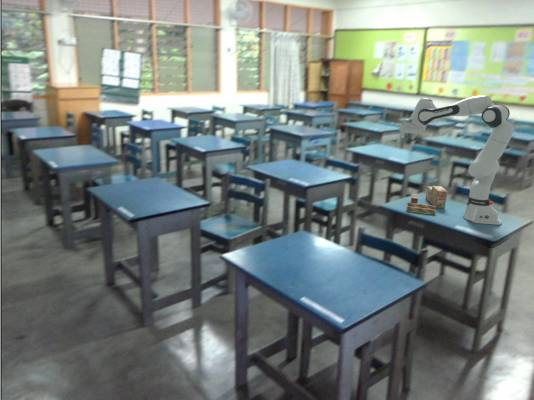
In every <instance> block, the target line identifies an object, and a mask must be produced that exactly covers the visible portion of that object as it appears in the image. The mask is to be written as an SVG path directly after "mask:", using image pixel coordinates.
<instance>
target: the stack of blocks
mask: <svg viewBox="0 0 534 400" xmlns="http://www.w3.org/2000/svg"><path fill="white" fill-rule="evenodd" d="M447 197H448V190H446V189H445V188H444V187H443V186H441V185H432V186H426V194H425V200H426V201H428V202H429V203H430V204H431V205H432V206H436V207H435V209H436V208H437V209H445V208H446V202H447Z"/></svg>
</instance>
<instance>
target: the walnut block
mask: <svg viewBox="0 0 534 400" xmlns="http://www.w3.org/2000/svg"><path fill="white" fill-rule="evenodd" d="M418 201H419V194H418V193H411V196H410V203H417V204H418Z"/></svg>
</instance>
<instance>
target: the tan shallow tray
mask: <svg viewBox="0 0 534 400" xmlns="http://www.w3.org/2000/svg"><path fill="white" fill-rule="evenodd" d="M406 212H412V213H419V214H427V215H433V216H435V215H436V206H434V205H433V204H431V205H430V204H423V203H418V202H417V203H411V202H407V206H406Z"/></svg>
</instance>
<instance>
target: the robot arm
mask: <svg viewBox="0 0 534 400" xmlns="http://www.w3.org/2000/svg"><path fill="white" fill-rule="evenodd" d="M476 115H481V116H480V117H481V121H482V122H484V124H486V125H487V126H488V127H490V128H492V132H491V133H490V134H489V137H488V139H487V140H486V143H485V145H484V146H483V148H482V149H481V151H480V152H479V153H478V155H477V156H476V158H475V159H474V160H473V161H472V163H471V164H469V166H468V173H469V175H470V176H471V177H472V178H474V179H473V181H472V183H471V184H470V190H469V195H468V196H467V199H466V207H465V211H464V212H463V215H462V218H463V219H465V220H467V221H470V222H472V223H475V224H483V225H484V224H485V225H493V226H494V225H496V226H499V225H501V224H502V220H501V219H500V218H499V212H498V211H497V209H495V208H494V207H493V203H494V202H493V201H492V200H491V199H490V198H489V196H490V192H491V187H492V185H493V184H492V183H494V182H493V181H494V180H495V177H496V174H497V172H498V171H499V168H500V163H499V161H498V160H499V159H500V158H501V157H502V156H503V154H504V153H505V150H506V149H507V148H508V147H507V146H508V145H509V144H510V141H511V138H512V136H513V133H514V131H515V130H514V129H515V127H514V125H513V123H511V122H509V121H507V120H509V118H510V115H511V113H510V109H509V108H508V107H507V106H506V105H502V104H498V103H493V101H492V98H491V96H489V95H477V96H476V95H475V96H470V97H467V98H464V99H462V100H459V101H457V102H454V103H451V104H449V105H446V106H442V107H437V106H436V105H435V103H434V101H433V99H431V98H429V97H428V98H427V97H421V98H420V99H419V100H418V102H417V103H416V105H415V108H414V110H413V112H411V115H410V117H409V118H408V119H407V118H406V119H404V120H403V121H402V122H401V124H400V125H399V127H398V131H399V132H401V133H400V134H401V135H400V138H401V139H404V138H405V134H407V133H408V134H413V135H411V137H410V139H412V140H414V139H415V138H416V137H418V135H423V134H424V133H425V130H426V129H427V126H428V124H434V123H437V122H440V120H441V119H443V118H447V117H471V116H476Z"/></svg>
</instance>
